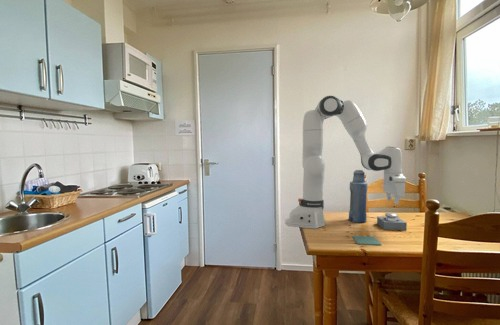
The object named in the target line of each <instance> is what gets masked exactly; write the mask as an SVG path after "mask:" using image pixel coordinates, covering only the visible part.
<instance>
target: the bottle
mask: <svg viewBox="0 0 500 325" xmlns="http://www.w3.org/2000/svg"><path fill="white" fill-rule="evenodd" d="M349 192H350V196H349V200H350V201H349V204H350V205H349V211H348V221H350V222H352V223H359V224H362V223H366V222H367V193H368V182H366V179H365V171H364V170H363V169H356V170H354V171H353V177H352V181H349Z"/></svg>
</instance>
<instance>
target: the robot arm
mask: <svg viewBox="0 0 500 325" xmlns="http://www.w3.org/2000/svg"><path fill="white" fill-rule="evenodd" d="M332 117H337V118H338V119H339V120H340V121H341V123H342V125H343V127H344V129H345V130H346V132H347V134H348V135H349V136H350V137H351V139H352V141H353V142H354V145H355V146H356V148H357V151H358V153H359V155H360V163H361V165H362V167H363V168H364V169H365V170H368V171H372V172H373V171H374V172H379V171H383V182H382V190H383V191H384V192H385V194H386V199H387V201H392V199H393V198H392V195H393V196H394V199H393V204H395V205H399V204H400V203H399V202H400V200H401V198H403V197H405V193H406V182H407V177H406V176H404V174H403V169H402V168H403V167H402V166H403V153H402V149H401V148H399V147H397V146H396V147H395V146H385V147H384V148H383V149H381V150H379V151H376V152H374V150H372V149H371V146H370V145H369V143H368V140H367V138H366V132H367V128H368V124H367V121H366V118H365V117H364V115H363V113H362V111H361V110H360V109H359V107H358V105H356V102H354V101H352V100H344V101H343V100H341V99H339V98H338V97H336V96H334V95H326V96H324V97H322V99H321V100H319V102H318V104H317V105H316V107H315V109H310V110H308V111H306V112H305V113H304V115H303V121H302V162H301V163H302V168H303V178H302V179H303V181H302V198H301V197H300V198H298V199H297V202H298V204H299V205H297V206H296V207H294V208H293V209H292V210H291V211H290V212H289V217H288V218H286V219H285V222H284V224H285V226H287V227H293V228H294V227H295V228H300V229H301V228H303V229H304V228H305V229H313V230H314V229H319V228H321V227H325V226H326V221H325V215H324V208H325V207H324V206H325V202H324V180H325V179H324V178H325V168H326V167H325V166H326V165H325V162H324V160H323V150H324V149H323V148H324V121H325V120H326V119H329V118H332Z"/></svg>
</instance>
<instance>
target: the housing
mask: <svg viewBox="0 0 500 325" xmlns="http://www.w3.org/2000/svg"><path fill="white" fill-rule="evenodd" d="M376 218H377V219H376V224H377V225H378V226H379V227H380V228H382V229H383V230H387V231H389V230H391V231H392V230H393V231H407V225H408V224H407V222H406V221H405V220H403V219H402V218H400V217H399V216H398V217H397V221H387V220H386V216H377V217H376Z"/></svg>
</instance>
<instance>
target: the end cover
mask: <svg viewBox="0 0 500 325" xmlns="http://www.w3.org/2000/svg"><path fill="white" fill-rule="evenodd" d="M384 217H386V220H387V221H397V217H398V218H399V214H397V213H395V212H385V213H384Z"/></svg>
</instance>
